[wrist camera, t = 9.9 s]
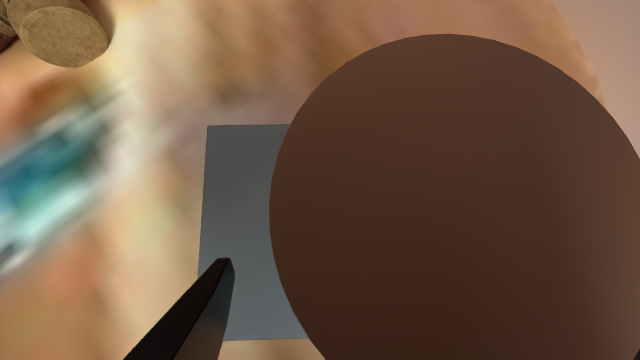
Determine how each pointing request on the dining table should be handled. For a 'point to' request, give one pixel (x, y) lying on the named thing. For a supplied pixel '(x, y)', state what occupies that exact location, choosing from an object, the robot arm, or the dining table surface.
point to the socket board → (245, 228)
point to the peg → (458, 210)
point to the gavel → (53, 30)
